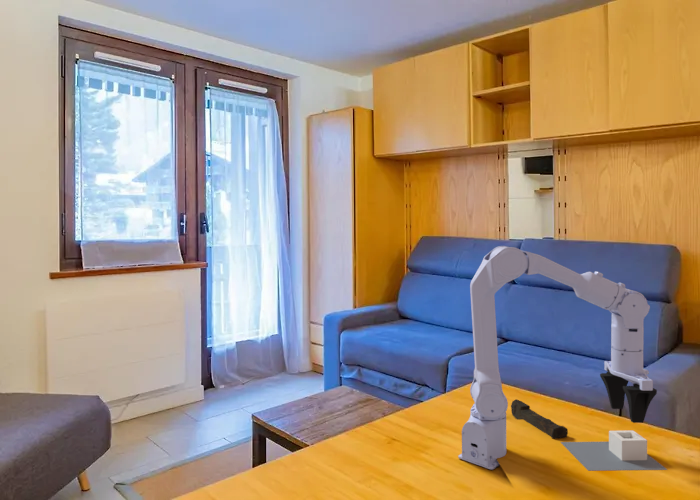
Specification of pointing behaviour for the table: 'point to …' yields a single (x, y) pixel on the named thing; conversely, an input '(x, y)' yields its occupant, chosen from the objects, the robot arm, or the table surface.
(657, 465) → the plate
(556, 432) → the hand tool
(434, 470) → the table surface
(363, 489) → the table surface
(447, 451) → the table surface
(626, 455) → the hollow square block
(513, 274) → the robot arm
